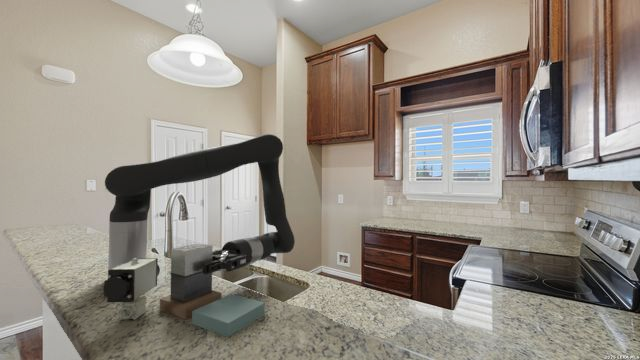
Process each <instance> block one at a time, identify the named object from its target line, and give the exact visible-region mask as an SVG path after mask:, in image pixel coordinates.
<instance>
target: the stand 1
mask: <svg viewBox="0 0 640 360" xmlns="http://www.w3.org/2000/svg"><path fill="white" fill-rule="evenodd" d="M221 298H222V292H220V291H216V290H213V289H212V293H209V294H207V295H204V296H202V297H199V298H197V299H194V300H192V301H189V302H187V303H181V302H178V301H175V300H172V299H170V295H167V296H164V297H161V298H160V299H159V311H161V312H164V313H166V314H169V315H172V316H174V317H176V318H180V319H183V320H185V321H187V320H189V319H192V311H194V310H196V309H198V308H200V307H203V306H205V305H207V304H209V303H212V302H214V301H216V300H218V299H221Z"/></svg>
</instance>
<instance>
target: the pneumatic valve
mask: <svg viewBox="0 0 640 360" xmlns="http://www.w3.org/2000/svg"><path fill="white" fill-rule="evenodd" d="M158 260H159V259H158V258H155V257H154V258H147V259H138V258H134V259H132V261H130V262H127V263H125V264H121V265H120V266H119V265H118V266H116V267H115V268H113V269H110V270H108V269H107V279H105V280H104V282H103V283H104V284H103V287H102V289H103V291H102V292H103V297H104V298H105V297H106V298H107V299H106V302H107V303H120V305H119V307H120V308H121V309H120V311H119V320H120V321H124V320H131V319H132V320H133V321H135V320H137V319H139V318H140V317H141V316H143V315H144V314H145V313H146V312H147V308H146V307H147V306H146V305H147V296H144V295H146V293H149V291H151V290H153V289H154V288H156V287H158V276H159V275H160V272H161V268H160V266H159V263H158V262H159V261H158ZM142 296H143V297H142Z"/></svg>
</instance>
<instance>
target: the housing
mask: <svg viewBox="0 0 640 360" xmlns="http://www.w3.org/2000/svg"><path fill="white" fill-rule="evenodd" d="M212 251H213V244H207V243H200V242H197V243H193V244H188V245H183V246H178V247H172V248H171V253H170V254H171V255H170V256H171V257H170V261H171V262H170V272H169V273H170V274H169V275H170V292H169V293H170V299H172V300H175V301H178V302H181V303H187V302H189V301H192V300H194V299H197V298H199V297H202V296H204V295H207V294H209V293H212V290H213V273H209V274H203V265H204V264H206V263H210V262H212Z"/></svg>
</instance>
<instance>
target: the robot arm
mask: <svg viewBox="0 0 640 360" xmlns="http://www.w3.org/2000/svg"><path fill="white" fill-rule="evenodd" d="M283 150H284V144H283V142H282V140H281V138H279V137H278V136H277V135H274V134H269V133H267V134H262V135H259V136H256V137H253V138H250V139H246V140H244V141H241V142H236V143H231V144H224V145H219V146H214V147H213V146H212V147H207V148H204V149H198V150H194V151H190V152H186V153H182V154H178V155H174V156H171V157H168V158H164V159H161V160H158V161H157V160H156V161H153V162H147V163H146V162H144V163H139V164H130V165H121V166H118V167H115V168H113V169H112V170H111V171H109V172H108V174H107V175H106V177H105V179H104V186H105V189H106V190H107V191H108V192H109V193H110V194H112V195H114V196H115V199H114V201H115V203H114V206H113V208H112V210H111V211H110V213H109V219H108V220H109V222H108V223H109V225H108V255H107V257H108V258H107V263H108V265H107V271H108V270H110V269H113V268H115V267H116V266H118V265H119V266H120V265H121V264H125V263H127V262H130V261H132V259H134V258H138V259H148V258H147V255H148V254H147V253H148V250H147V249H148V217H149V216H148V215H149V211H150V206H151V195H152V193H151V192H152V190H153V189H156V188H158V187H163V186H167V185H176V184H177V185H178V184H184V183H191V182H198V181H203V180H206V179H211V178H214V177H218V176H221V175H223V174H225V173H228V172H230V171H233V170H234V169H236V168H240V167H241V166H246V165H249V164H256V163H257V165H258V169H259V173H260V177H261V184H262V196H263V197H262V198H263V207H264V208H263V211H264V216H265V222H266V225H268V226H273V227H275V229H276V231H271V232H267V233H264V234H261V235H257V236H253V237H244V238H240V239H235V240H230V241H227V242H225V243H224V245H223V246H222V248H221V249H219V248H218V249H215V250H212V262H210V263H206V264H204V265H203V274H209V273H212V274H213V273H215V272H223V271H225V270H226V272H229V273H230V272H232V271H235V270H238V269H241V268H243V267H246V266H250V265H252V264H255V263H256V262H258V261H261V260H264V259H267V258H269V257H270V256H271V255H272V254H286V253H291V251H293V249H294V247H295V242H296V241H295V235H294V233H293V230H292V227H291V225H290V222H289V220H288V218H287V210H286V201H285V197H284V193H283V188H282V184H281V180H280V179H281V178H280V171H279V168H280V167H279V164H280V158H281V156H282V154H283Z"/></svg>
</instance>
